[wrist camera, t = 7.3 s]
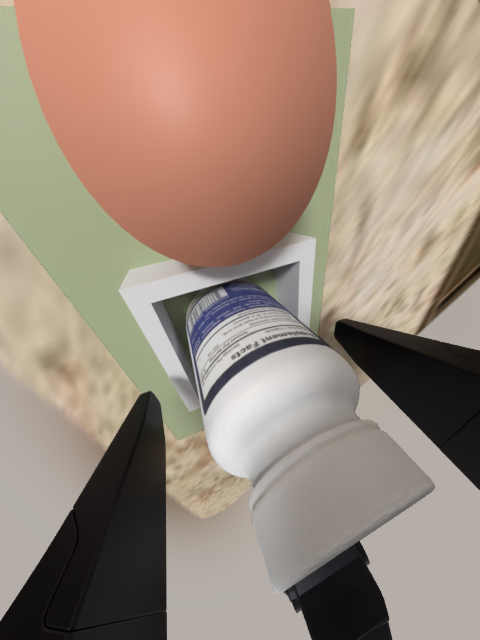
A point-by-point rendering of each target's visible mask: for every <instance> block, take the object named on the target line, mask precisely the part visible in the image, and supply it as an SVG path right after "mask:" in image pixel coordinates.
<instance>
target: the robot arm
mask: <svg viewBox="0 0 480 640" xmlns="http://www.w3.org/2000/svg"><path fill="white" fill-rule="evenodd" d="M334 336H335V338H336V340H337V341H338V342H339V343H340V345H341V346H342V347H343V348H344V349H345V351H346V352H347V353H348V354H349V356H350V357H351V358H352V359H353V361H354V362H355V363H356V364H357V365H358V366H359V367H360V368H361V369H362V370H363V371H364V372H365V373H366V374H367V375H368V376H369V377H370V378H371V379H372V380H373V381H374V382H375V383H376V384H377V385H378V386H379V388H380V389H381V390H383V392H384V393H385V394H386V395H387V396H389V398H390V399H391V400H392V401H393V402H394V403H395V404H396V405H397V406H398V407H399V408H400V409H401V410H402V411H403V412H404V413H405V414H406V415H407V416H408V417H409V418H410V419H411V420H412V421H413V422H414V423H415V424H416V425H417V426H418V427H419V428H420V429H421V430H422V431H423V433H425V435H426V436H427V437H428V438H429V439H430V440H431V441H432V442H433V443H434V444H435V445H436V446H437V447H438V448H439V449H440V450H441V451H442V452H443V453H444V454H445V455H446V456H447V457H448V458H449V459H450V460H451V461H452V462H453V463H454V465H455V466H456V467H458V469H459V470H461V472H462V473H463V474H464V475H465V476H466V477H467V478H468V479H469V480H470V481H471V482H472V483H473V484H474V485H475V486H476V487H477V488H478V489H479V490H480V351H479V350H474V349H470V348H466V347H462V346H457V345H453V344H449V343H445V342H440V341H436V340H432V339H428V338H424V337H420V336H415V335H411V334H407V333H403V332H399V331H395V330H391V329H386V328H382V327H378V326H374V325H370V324H366V323H361V322H357V321H353V320H349V319H341V320H339V321H337V322H336V325H335V331H334ZM369 564H370V562H369V560H368V557H367V555H366V552H365V550H364V548H363V546H362V545H361V543H360V541H358V542H357V543H355V544H354V545H352V546H351V547H349V548H348V549H346V550H345V551H343V552H342V553H340V554H339V555H337V556H336V557H334V558H333V559H331V560H330V561H328V562H327V563H325V564H324V565H322V566H321V567H319V568H318V569H316V570H315V571H313V572H312V573H310V574H309V575H307V576H306V577H305V578H303V579H302V580H300V581H299V582H297V583H296V584H294V585H293V586H291V587H290V588H288V589H287V590H286V591H284V592H283V593H285V594H286V595H287V596H288V597H289V599H290V602H292V603H293V606H294V609H295V611H296V613H298V612H299V611H301V610H302V613H303V615H304V618H305V621H306V624H307V627H308V630H309V633H310V636H311V639H312V640H392V636H391V632H390V628H389V623H388V621H389V616H388V612H387V608H386V605H385V601H384V598H383V596H382V593H381V591H380V589H379V587H378V585H377V583H376V582H375V580H374V578H373V576H372V574H371V573H370V571H369V569H368V567H367V565H369ZM0 640H167V612H166V447H165V435H164V426H163V418H162V410H161V404H160V402H159V400H158V399H157V397H156V396H155V394H154V393H153V392H152V391H147V392H145V393H142V394H141V395H140V396H139V397H138V399H137V400H136V402H135V404H134V405H133V407H132V409H131V410H130V412H129V414H128V416H127V417H126V419H125V421H124V422H123V424H122V426H121V427H120V429H119V431H118V432H117V434H116V436H115V437H114V439H113V441H112V442H111V444H110V446H109V447H108V449H107V451H106V452H105V454H104V456H103V457H102V459H101V461H100V462H99V464H98V466H97V468H96V469H95V471H94V473H93V474H92V476H91V478H90V479H89V481H88V483H87V484H86V486H85V488H84V489H83V491H82V493H81V494H80V496H79V498H78V499H77V501H76V503H75V504H74V506H73V510H71V511H70V513H69V514H68V516H67V518H66V519H65V521H64V523H63V525H62V526H61V528H60V530H59V531H58V533H57V534H56V536H55V537H54V539H53V541H52V542H51V544H50V546H49V547H48V549H47V550H46V552H45V554H44V555H43V557H42V559H41V560H40V562H39V563H38V565H37V566H36V568H35V569H34V571H33V573H32V574H31V575H30V577H29V579H28V580H27V582H26V583H25V585H24V586H23V588H22V589H21V591H20V592H19V594H18V596H17V597H16V599H15V600H14V602H13V603H12V605H11V606H10V608H9V609H8V611H7V612H6V614H5V615H4V617H3V618H2V620H1V621H0Z"/></svg>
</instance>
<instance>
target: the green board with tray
mask: <svg viewBox="0 0 480 640" xmlns="http://www.w3.org/2000/svg"><path fill="white" fill-rule="evenodd" d="M14 5H15V7H4V6H0V212H1V213H2V215H3V216H4V217H5V219H6V220H7V221H8V222H9V224H10V225H11V226H12V228H13V229H14V230H15V231H16V233H17V234H18V235H19V237H20V238H21V239H22V240H23V242H24V243H25V244H26V246H27V247H28V248H29V249H30V251H31V252H32V253H33V255H34V256H35V257H36V258H37V260H38V261H39V262H40V264H41V265H42V266H43V267H44V269H45V270H46V271H47V273H48V274H49V275H50V276H51V278H52V279H53V280H54V282H55V283H56V284H57V285H58V287H59V288H60V289H61V291H62V292H63V293H64V294H65V296H66V297H67V298H68V300H69V301H70V302H71V303H72V305H73V306H74V307H75V309H76V310H77V311H78V312H79V314H80V315H81V316H82V318H83V319H84V320H85V321H86V323H87V324H88V325H89V327H90V328H91V329H92V330H93V332H94V333H95V334H96V336H97V337H98V338H99V339H100V341H101V342H102V343H103V345H104V346H105V347H106V348H107V350H108V351H109V352H110V354H111V355H112V356H113V357H114V359H115V360H116V361H117V363H118V364H119V365H120V366H121V368H122V369H123V370H124V372H125V373H126V374H127V375H128V377H129V378H130V379H131V381H132V382H133V383H134V384H135V386H136V387H137V388H138V390H139V391H140V392H141V393H145V392H147V391H152V392H153V393H154V394H155V396H156V397H157V399H158V400H159V402H160V404H161V410H162V418H163V422H164V423H165V424H166V426H167V427H168V428H169V429H170V431H171V432H172V433H173V435H174V436H175V437H176V438H177V440H181V439H183V438H185V437H188V436H190V435H192V434H195V433H197V432H199V431H201V430H204V424H203V418H202V412H201V406H200V401H199V395H198V390H197V385H196V379H195V374H194V369H193V363H192V358H191V353H190V347H189V342H188V337H187V331H186V314H187V310H188V308H189V305H190V303H191V301H192V300H193V298H194V297H195V296H196V295H197V294H198V293H199V292H200V291H201V290H202V289H203V288H206V287H210V286H213V285H217V284H220V283H224V282H227V281H231V280H234V279H238V278H243V279H247V280H250V281H252V282H254V283H255V284H257V285H258V286H260V287H261V288H262V289H264V290H265V291H266V292H267V293H268V294H269V295H271V296H272V297H273V298H274V299H275V300H276V301H278V302H279V303H280V304H281V305H282V306H283V307H285V308H286V309H287V310H288V311H289V312H291V313H292V314H293V315H294V316H295V317H296V318H298V319H299V320H300V321H301V322H302V323H303V324H305V325H306V326H307V327H308V328H309V329H310V330H312V331H313V332H314V333H315V334H316V335H318V331H319V322H320V313H321V304H322V296H323V287H324V278H325V269H326V260H327V251H328V242H329V234H330V225H331V216H332V207H333V198H334V189H335V181H336V172H337V163H338V154H339V145H340V136H341V127H342V119H343V110H344V101H345V92H346V83H347V74H348V65H349V57H350V48H351V39H352V30H353V21H354V12H355V9H343V8H330V4H329V0H14Z"/></svg>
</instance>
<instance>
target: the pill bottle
mask: <svg viewBox="0 0 480 640" xmlns="http://www.w3.org/2000/svg"><path fill="white" fill-rule="evenodd" d="M186 331H187V337H188V342H189V347H190V353H191V358H192V363H193V369H194V374H195V379H196V385H197V390H198V395H199V401H200V406H201V412H202V418H203V424H204V429H205V435H206V439H207V444H208V448H209V450H210V453H211V455H212V456H213V458H214V460H215V461H216V462H217V464H218V465H219V466H220V467H221V468H222V469H224V470H225V471H227V472H228V473H230V474H232V475H235V476H238V477H243V478H250V480H251V482H252V485H253V491H252V492H251V495H250V497H249V506H250V508H251V510H252V511H253V512H252V524H253V526H254V529H255V532H256V535H257V538H258V541H259V544H260V548H261V551H262V554H263V558H264V561H265V564H266V568H267V571H268V574H269V578H270V581H271V584H272V587H273V589H274V591H275V592H276V593H277V594H281V593H283V592H284V591H286V590H287V589H288V588H290V587H291V586H293V585H294V584H296V583H297V582H299V581H300V580H302V579H303V578H305V577H306V576H307V575H309V574H310V573H312V572H313V571H315V570H316V569H318V568H319V567H321V566H322V565H324V564H325V563H327V562H328V561H330V560H331V559H333V558H334V557H336V556H337V555H339V554H340V553H342V552H343V551H345V550H346V549H348V548H349V547H351V546H352V545H354V544H355V543H357V542H358V541H360V540H361V539H363V538H364V537H366V536H367V535H369V534H370V533H372V532H373V531H375V530H376V529H378V528H379V527H381V526H382V525H384V524H385V523H387V522H388V521H390V520H391V519H393V518H394V517H396V516H397V515H399V514H400V513H401V512H403V511H405V510H406V509H407V508H409V507H410V506H412V505H413V504H415V503H416V502H418V501H419V500H421V499H422V498H424V497H425V496H426V495H428V494H429V493H431V492H432V491H433V490H434V489H435V485H434V484H433V482H432V481H431V479H430V478H429V477H428V476H427V475H426V474H425V473H424V472H423V470H421V468H420V467H419V466H417V464H416V463H415V462H414V461H413V460H412V459H411V458H410V457H409V456H408V455H407V454H406V453H405V452H404V451H403V449H401V447H400V446H399V445H398V444H397V443H396V442H395V441H394V440H393V439H392V438H391V437H390V436H389V435H388V434H387V433H386V432H384V431H381V430H380V428H379V426H378V425H377V423H375V422H373V421H371V420H361V419H360V418H359V417H358V416H357V415H356V413H355V409H356V407H357V404H358V400H359V390H360V389H359V382H358V378H357V375H356V374H355V372H354V370H353V368H352V367H351V366H350V364H349V363H348V362H347V361H346V360H345V359H344V358H343V357H342V356H340V355H339V354H338V352H337V351H336V350H334V349H333V348H332V347H331V346H329V345H328V344H327V343H326V342H325V341H324V340H322V339H321V338H320V337H319V336H318V335H316V334H315V333H314V332H313V331H312V330H310V329H309V328H308V327H307V326H306V325H305V324H303V323H302V322H301V321H300V320H299V319H298V318H296V317H295V316H294V315H293V314H292V313H291V312H289V311H288V310H287V309H286V308H285V307H283V306H282V305H281V304H280V303H279V302H278V301H276V300H275V299H274V298H273V297H272V296H271V295H269V294H268V293H267V292H266V291H265V290H264V289H262V288H261V287H260V286H258V285H257V284H255V283H254V282H252V281H250V280H247V279H243V278H238V279H234V280H231V281H227V282H224V283H220V284H217V285H213V286H210V287H206V288H203V289H202V290H201V291H200V292H199V293H198V294H197V295H196V296H195V297H194V298H193V300H192V301H191V303H190V305H189V308H188V310H187V314H186Z"/></svg>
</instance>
